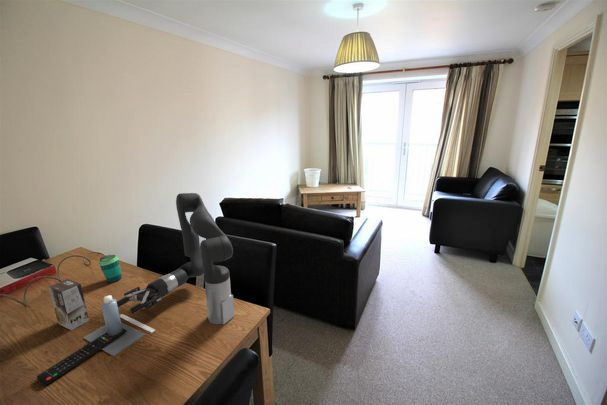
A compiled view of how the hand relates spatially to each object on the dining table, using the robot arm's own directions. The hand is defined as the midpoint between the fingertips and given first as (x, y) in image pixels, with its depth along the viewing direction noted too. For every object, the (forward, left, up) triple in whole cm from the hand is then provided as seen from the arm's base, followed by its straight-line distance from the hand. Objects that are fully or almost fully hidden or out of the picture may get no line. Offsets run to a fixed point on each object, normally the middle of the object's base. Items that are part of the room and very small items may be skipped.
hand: (123, 308), depth 101 cm
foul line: (0, -3, -9) cm, 10 cm away
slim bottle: (0, +4, -7) cm, 8 cm away
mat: (0, +5, -9) cm, 10 cm away
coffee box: (+22, +7, -9) cm, 25 cm away
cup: (+41, -18, -9) cm, 46 cm away
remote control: (0, +14, -9) cm, 16 cm away
